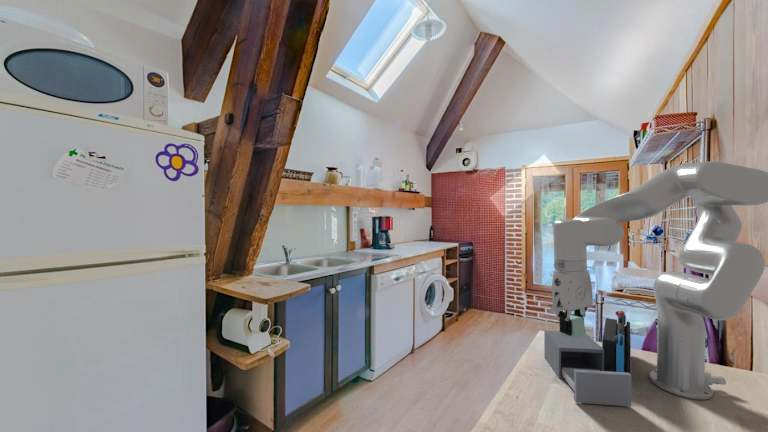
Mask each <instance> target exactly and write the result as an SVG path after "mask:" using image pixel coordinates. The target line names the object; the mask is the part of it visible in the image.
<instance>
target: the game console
mask: <svg viewBox="0 0 768 432" xmlns="http://www.w3.org/2000/svg"><path fill="white" fill-rule="evenodd" d="M615 315H616V316H617V317H618V318H617V319H616V318H615V319H614V318H609V317H606V318H605V321H604V328H603V333H602V334H603V335H602V341H601V343H602V344H601V345H602V346H601V347H602V348H603V349H604V371H609V372H626V373H629V374H631V347H632V345H631V321H626V320H627V317H626V313H625V311H623V310H618V311H615Z"/></svg>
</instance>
